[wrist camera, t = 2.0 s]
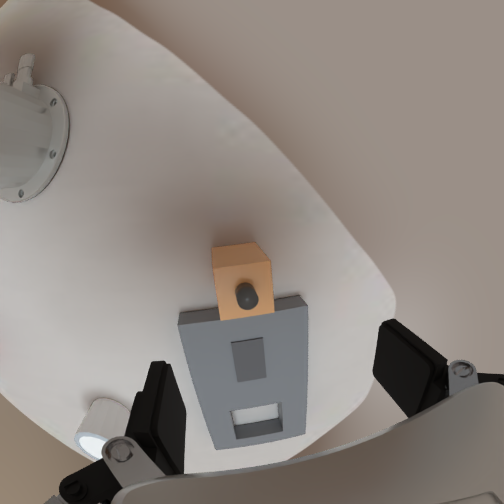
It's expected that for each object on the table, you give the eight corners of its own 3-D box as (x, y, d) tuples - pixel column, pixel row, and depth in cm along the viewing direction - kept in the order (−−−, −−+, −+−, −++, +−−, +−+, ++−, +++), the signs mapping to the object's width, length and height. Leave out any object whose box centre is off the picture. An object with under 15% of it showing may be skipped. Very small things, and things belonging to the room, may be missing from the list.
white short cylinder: (87, 387, 26) (70, 425, 19) (137, 404, 27) (128, 445, 21) (89, 418, 27) (76, 453, 20) (134, 433, 28) (127, 470, 22)
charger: (211, 247, 24) (212, 275, 17) (254, 242, 25) (275, 266, 17) (217, 288, 25) (221, 330, 18) (258, 282, 26) (279, 321, 18)
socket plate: (179, 313, 25) (177, 326, 23) (299, 295, 27) (308, 306, 24) (214, 436, 30) (216, 451, 28) (300, 421, 32) (305, 435, 29)
